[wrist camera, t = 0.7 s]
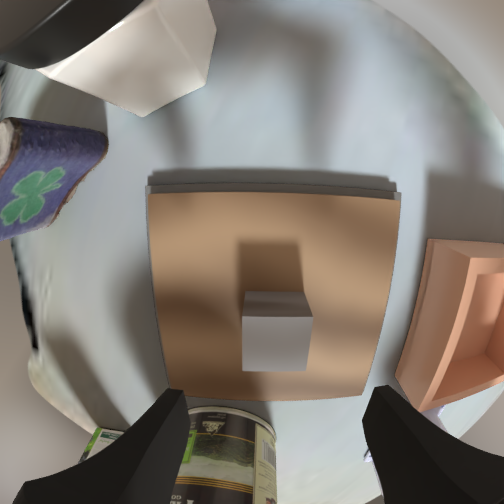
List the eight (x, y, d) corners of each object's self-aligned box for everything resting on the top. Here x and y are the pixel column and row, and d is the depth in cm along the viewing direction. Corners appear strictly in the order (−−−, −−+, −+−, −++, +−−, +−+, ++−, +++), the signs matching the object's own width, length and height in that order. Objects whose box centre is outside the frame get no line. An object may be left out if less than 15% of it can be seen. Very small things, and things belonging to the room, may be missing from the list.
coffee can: (154, 430, 22) (114, 539, 9) (213, 388, 20) (180, 547, 6) (230, 469, 24) (220, 569, 10) (298, 436, 22) (310, 562, 8)
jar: (197, -3, 12) (149, -114, 1) (240, 73, 14) (208, -70, 3) (91, 55, 14) (-15, -1, 2) (117, 137, 15) (-33, 111, 4)
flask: (48, 233, 17) (-55, 273, 7) (32, 205, 17) (-69, 232, 6) (116, 148, 16) (-10, 132, 5) (97, 120, 15) (-21, 91, 5)
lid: (359, 388, 19) (372, 422, 15) (175, 387, 19) (161, 422, 16) (394, 199, 15) (428, 206, 11) (152, 193, 16) (122, 198, 12)
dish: (481, 354, 19) (506, 379, 14) (394, 375, 19) (416, 413, 15) (513, 244, 16) (548, 258, 11) (427, 238, 16) (470, 257, 12)
